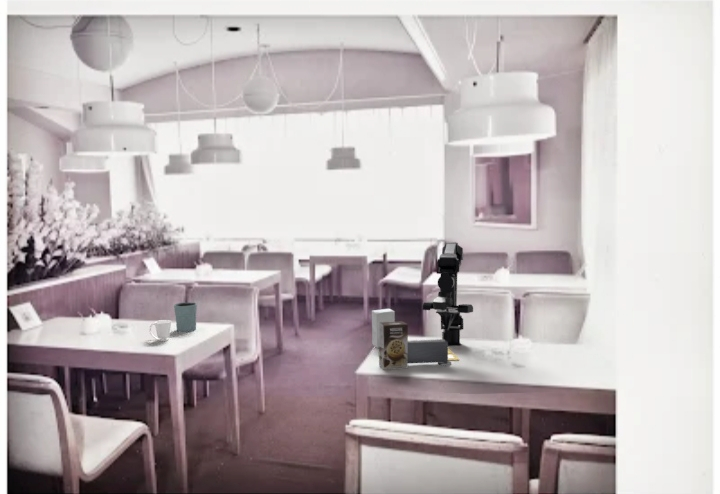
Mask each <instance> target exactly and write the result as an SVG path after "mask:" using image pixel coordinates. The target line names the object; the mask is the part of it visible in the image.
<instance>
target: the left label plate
mask: <svg viewBox="0 0 720 494" xmlns="http://www.w3.org/2000/svg"><path fill="white" fill-rule="evenodd" d="M448 361H450V362H452V361H455V362H457V361H460V359H459V357H458V356H457V354H456V353H453V354H448Z"/></svg>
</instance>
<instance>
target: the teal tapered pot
mask: <svg viewBox="0 0 720 494" xmlns="http://www.w3.org/2000/svg"><path fill="white" fill-rule="evenodd" d="M197 305H198V303H197V302H179V303H175V304H173V307H174V315H175V321H176V323H175V325H176V326H175V327H176V331H177V332H179V333H181V332H182V333H187V332H193V331H196V330H197V309H198V308H197V307H198V306H197Z"/></svg>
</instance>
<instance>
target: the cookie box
mask: <svg viewBox="0 0 720 494" xmlns="http://www.w3.org/2000/svg"><path fill="white" fill-rule="evenodd" d="M408 332H409V324H408V323H406V322H405V321H403V320H400V321H398V320H397V321H395V322H380V323H379V348H378V350H379V351H378V365H379V367H380V368H381V369H382V370H384V371H387V370H386V369H388V370H398V369H408V368H409V367H408V364H409V363H408V361H407V360H408V340H409V338H408V337H409V333H408Z"/></svg>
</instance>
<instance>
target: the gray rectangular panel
mask: <svg viewBox="0 0 720 494" xmlns="http://www.w3.org/2000/svg"><path fill="white" fill-rule="evenodd" d="M448 348H449V345H448V342H447V341H446V340H444V339H442V338H441V339H415V340H414V339H410V340H409V339H408V360H407V361H408V364H430V363H433V364H434V363H437V364H438V362H448Z"/></svg>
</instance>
